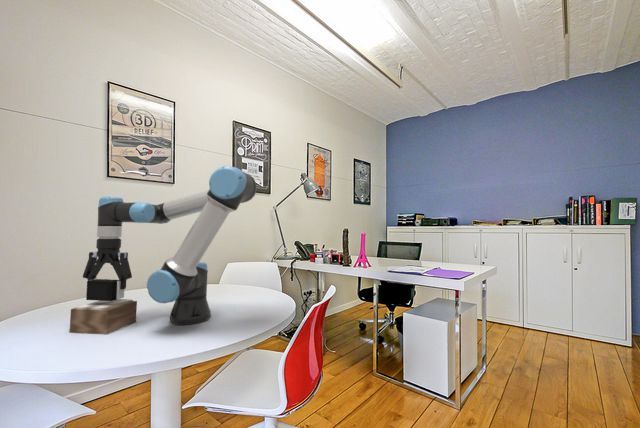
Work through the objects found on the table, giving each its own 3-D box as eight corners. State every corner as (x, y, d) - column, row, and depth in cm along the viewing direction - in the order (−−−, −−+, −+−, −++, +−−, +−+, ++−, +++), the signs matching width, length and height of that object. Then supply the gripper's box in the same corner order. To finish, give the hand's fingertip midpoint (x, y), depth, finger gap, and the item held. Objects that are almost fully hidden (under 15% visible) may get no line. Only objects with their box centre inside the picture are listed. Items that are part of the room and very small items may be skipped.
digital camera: (123, 297, 110) (124, 279, 111) (111, 301, 105) (112, 281, 105) (99, 296, 112) (100, 278, 112) (86, 300, 106) (87, 280, 107)
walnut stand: (136, 321, 115) (137, 299, 115) (106, 334, 101) (108, 308, 101) (102, 320, 116) (104, 298, 117) (69, 332, 102) (71, 307, 103)
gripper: (144, 238, 113) (142, 296, 112) (89, 237, 115) (86, 294, 114) (130, 238, 105) (127, 301, 104) (72, 237, 108) (68, 299, 106)
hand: (106, 297), depth 109 cm, fingers closed on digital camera, 10 cm apart
